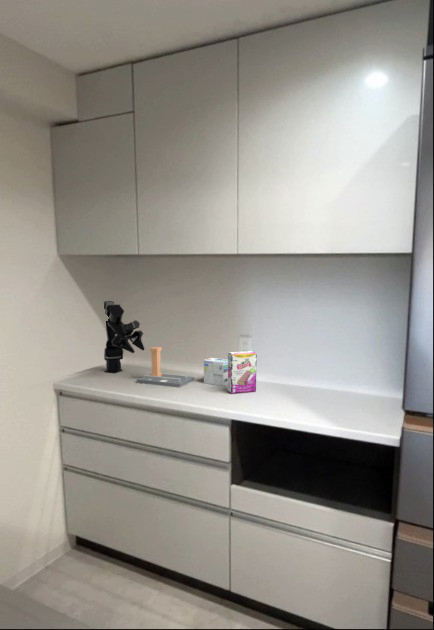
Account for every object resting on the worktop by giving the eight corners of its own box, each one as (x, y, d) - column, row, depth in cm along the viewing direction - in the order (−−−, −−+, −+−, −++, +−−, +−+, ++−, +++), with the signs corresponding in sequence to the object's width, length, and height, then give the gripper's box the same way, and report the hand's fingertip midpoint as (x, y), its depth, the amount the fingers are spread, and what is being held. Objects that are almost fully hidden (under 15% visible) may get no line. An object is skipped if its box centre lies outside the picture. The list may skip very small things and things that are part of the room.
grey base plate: (136, 382, 195) (136, 376, 195) (153, 376, 208) (153, 370, 207) (179, 387, 186) (179, 381, 186) (194, 380, 199) (194, 374, 199)
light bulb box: (231, 383, 193) (231, 359, 192) (223, 386, 187) (223, 361, 187) (211, 380, 199) (211, 357, 198) (203, 383, 193) (203, 359, 192)
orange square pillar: (150, 377, 198) (149, 348, 196) (154, 375, 201) (154, 346, 200) (157, 377, 196) (157, 348, 195) (162, 375, 200) (161, 347, 199)
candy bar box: (231, 394, 175) (231, 354, 173) (227, 391, 180) (227, 352, 178) (256, 391, 178) (257, 352, 177) (252, 388, 183) (252, 350, 182)
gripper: (116, 316, 194) (138, 341, 191) (139, 313, 211) (159, 337, 208) (102, 333, 198) (123, 358, 194) (126, 329, 215) (145, 352, 211)
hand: (139, 351), depth 202 cm, fingers open, 8 cm apart
